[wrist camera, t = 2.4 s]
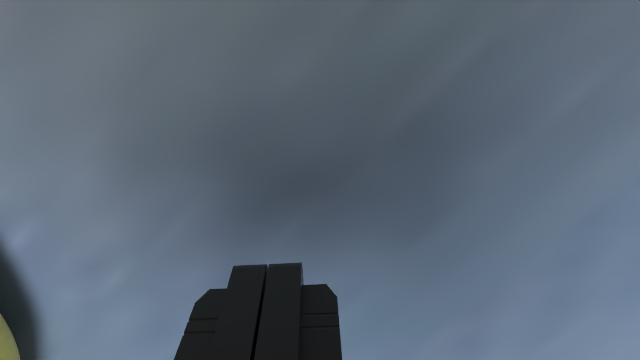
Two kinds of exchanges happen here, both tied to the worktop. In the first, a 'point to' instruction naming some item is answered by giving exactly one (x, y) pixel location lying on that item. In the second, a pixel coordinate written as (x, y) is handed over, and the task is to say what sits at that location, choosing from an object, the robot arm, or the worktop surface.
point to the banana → (7, 343)
